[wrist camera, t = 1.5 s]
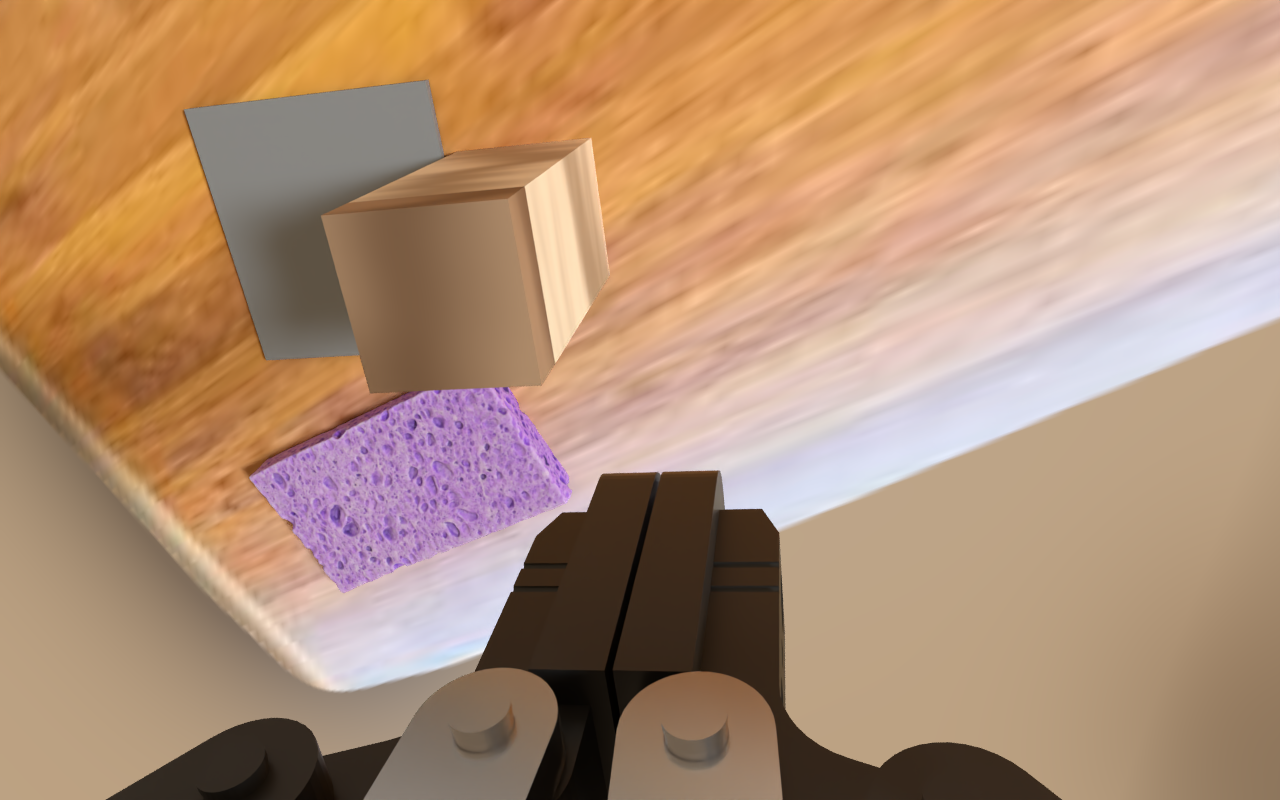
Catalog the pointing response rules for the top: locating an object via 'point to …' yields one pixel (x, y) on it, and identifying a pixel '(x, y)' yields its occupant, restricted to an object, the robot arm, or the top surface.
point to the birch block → (472, 267)
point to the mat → (305, 196)
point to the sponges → (413, 481)
